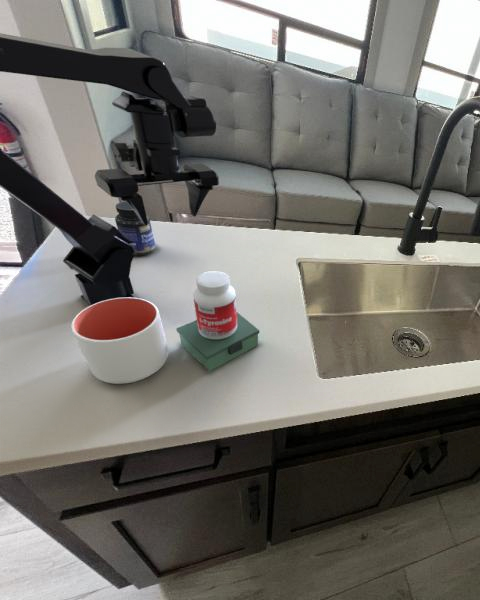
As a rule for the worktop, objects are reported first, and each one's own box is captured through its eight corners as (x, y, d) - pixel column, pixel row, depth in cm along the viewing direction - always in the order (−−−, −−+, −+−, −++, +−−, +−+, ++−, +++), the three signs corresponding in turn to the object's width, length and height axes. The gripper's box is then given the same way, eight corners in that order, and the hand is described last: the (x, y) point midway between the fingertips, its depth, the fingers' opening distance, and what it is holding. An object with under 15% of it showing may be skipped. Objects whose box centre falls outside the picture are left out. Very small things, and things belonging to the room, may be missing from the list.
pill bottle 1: (151, 257, 76) (140, 213, 70) (119, 255, 74) (105, 209, 68) (159, 244, 81) (150, 202, 74) (130, 242, 79) (118, 198, 72)
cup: (85, 393, 48) (60, 346, 43) (100, 345, 55) (81, 298, 50) (166, 381, 53) (154, 337, 47) (172, 338, 60) (162, 295, 54)
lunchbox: (210, 374, 56) (207, 358, 54) (178, 343, 59) (174, 327, 57) (261, 346, 63) (260, 331, 61) (230, 320, 67) (229, 305, 64)
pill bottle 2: (196, 342, 56) (187, 290, 49) (200, 318, 60) (193, 267, 54) (237, 339, 58) (233, 290, 52) (238, 317, 62) (235, 268, 56)
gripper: (184, 125, 68) (194, 198, 77) (66, 123, 54) (95, 212, 63) (217, 143, 64) (223, 217, 73) (98, 146, 50) (124, 237, 59)
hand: (170, 220), depth 67 cm, fingers open, 9 cm apart
